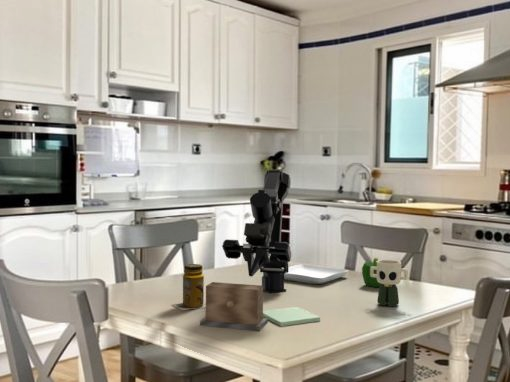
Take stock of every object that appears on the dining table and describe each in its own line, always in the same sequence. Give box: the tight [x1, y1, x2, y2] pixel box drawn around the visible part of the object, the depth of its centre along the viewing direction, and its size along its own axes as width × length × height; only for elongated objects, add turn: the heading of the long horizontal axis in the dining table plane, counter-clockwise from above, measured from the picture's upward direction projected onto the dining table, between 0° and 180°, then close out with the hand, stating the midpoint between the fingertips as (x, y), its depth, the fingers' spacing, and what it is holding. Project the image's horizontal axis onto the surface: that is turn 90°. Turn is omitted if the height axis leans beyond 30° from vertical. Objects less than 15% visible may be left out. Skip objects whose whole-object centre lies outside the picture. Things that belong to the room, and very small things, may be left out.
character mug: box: [370, 259, 409, 307], centre depth 170 cm, size 11×7×13 cm, turn 69°
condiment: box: [171, 263, 206, 311], centre depth 166 cm, size 7×8×12 cm
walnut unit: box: [199, 281, 269, 332], centre depth 149 cm, size 16×8×10 cm, turn 74°
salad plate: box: [282, 263, 350, 285], centre depth 209 cm, size 21×21×3 cm
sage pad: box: [263, 306, 321, 327], centre depth 155 cm, size 12×12×1 cm
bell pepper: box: [361, 257, 381, 288], centre depth 197 cm, size 8×8×10 cm
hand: (250, 275), depth 154 cm, fingers closed
